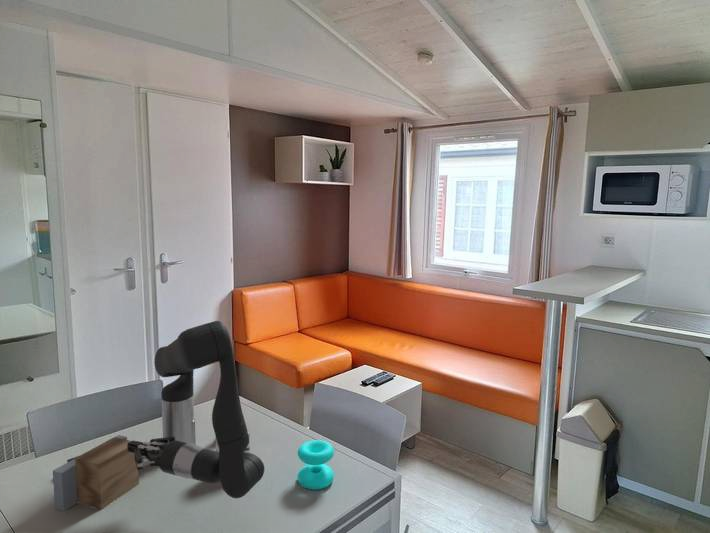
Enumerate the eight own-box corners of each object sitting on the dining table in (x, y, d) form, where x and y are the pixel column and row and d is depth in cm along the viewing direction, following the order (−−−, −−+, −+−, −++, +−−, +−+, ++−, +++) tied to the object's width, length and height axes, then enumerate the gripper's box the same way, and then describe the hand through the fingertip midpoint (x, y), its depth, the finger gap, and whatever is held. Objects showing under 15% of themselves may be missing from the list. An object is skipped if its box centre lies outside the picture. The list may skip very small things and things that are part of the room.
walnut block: (138, 484, 128) (137, 442, 127) (101, 510, 117) (99, 464, 116) (116, 478, 131) (114, 437, 129) (77, 502, 120) (75, 458, 118)
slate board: (128, 470, 135) (126, 436, 134) (63, 511, 116) (61, 473, 115) (120, 467, 136) (118, 434, 135) (55, 508, 117) (52, 470, 116)
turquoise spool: (317, 434, 137) (341, 447, 130) (317, 467, 138) (341, 481, 131) (290, 446, 130) (314, 460, 123) (290, 481, 131) (314, 496, 124)
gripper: (202, 433, 120) (148, 420, 126) (165, 459, 108) (107, 443, 114) (202, 460, 121) (149, 446, 127) (166, 489, 109) (108, 472, 115)
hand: (129, 445), depth 120 cm, fingers closed
